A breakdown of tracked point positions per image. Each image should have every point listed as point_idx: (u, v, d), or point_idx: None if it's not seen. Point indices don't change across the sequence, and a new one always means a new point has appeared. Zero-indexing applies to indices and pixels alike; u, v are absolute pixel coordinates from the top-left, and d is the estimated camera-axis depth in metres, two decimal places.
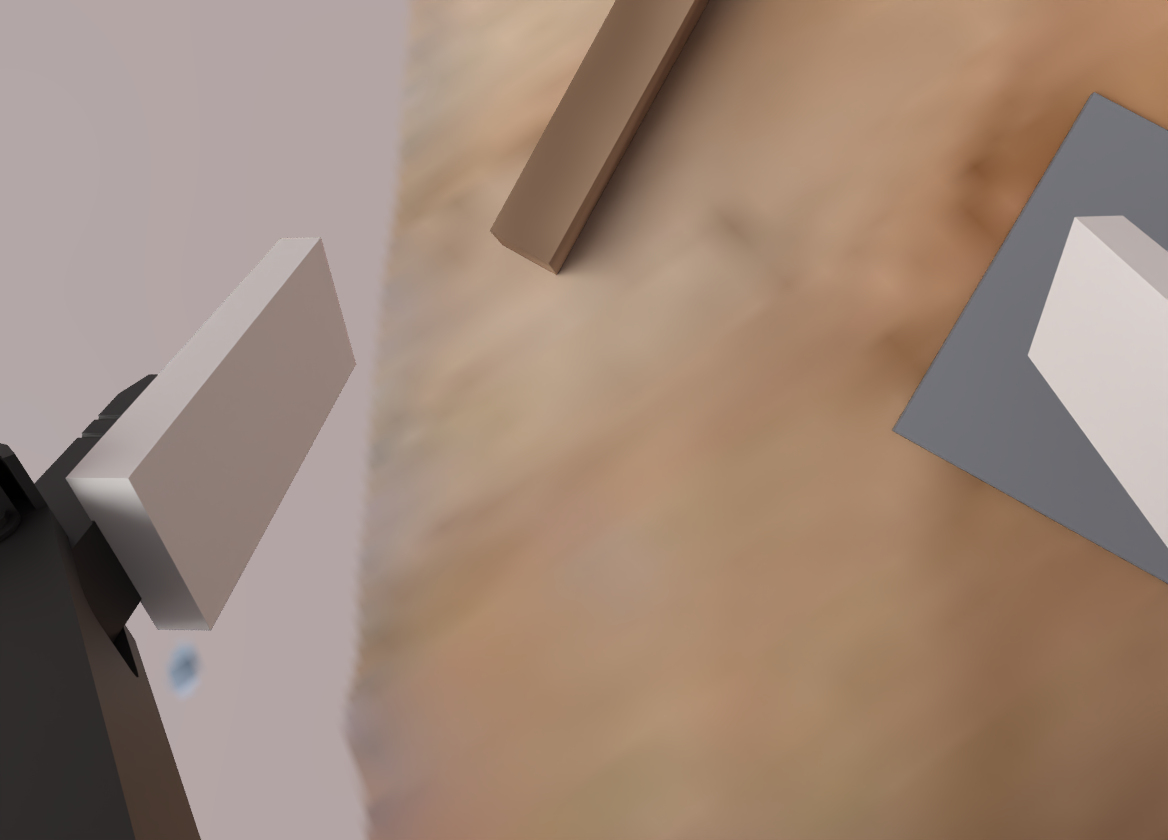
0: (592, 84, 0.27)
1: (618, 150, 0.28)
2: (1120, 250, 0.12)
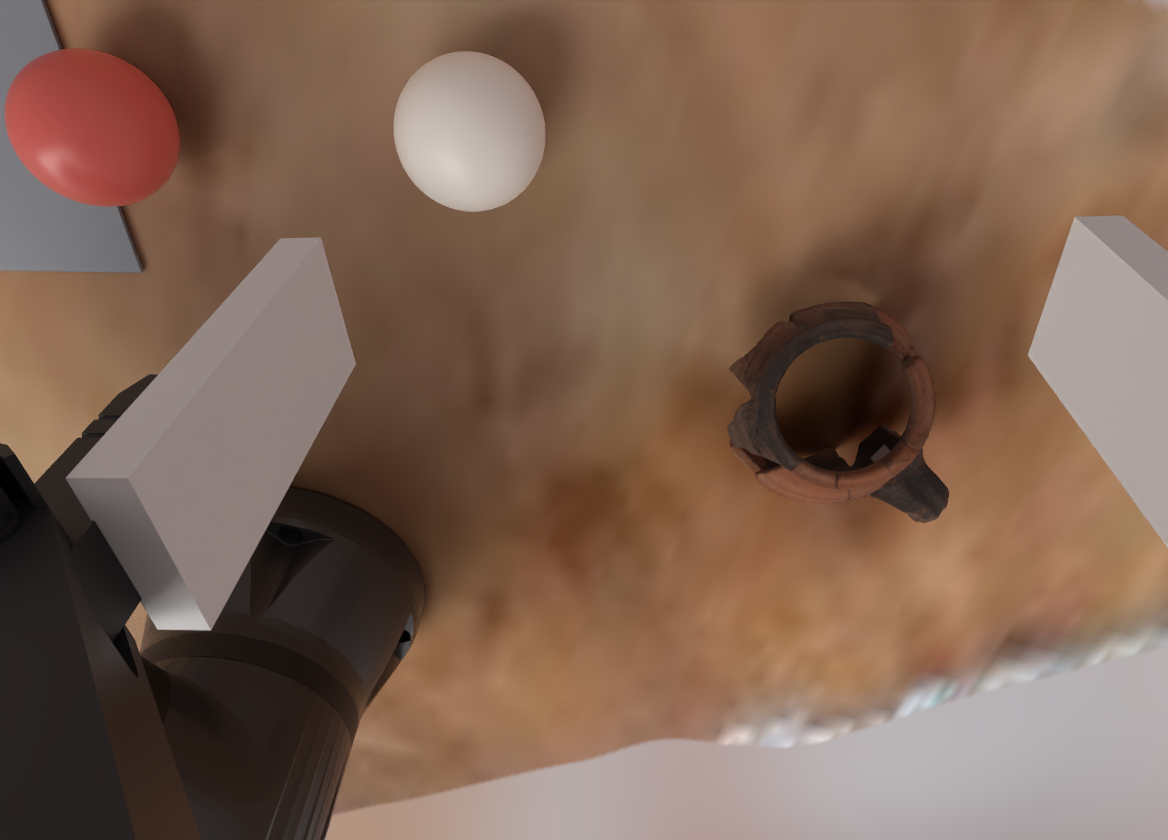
0: None
1: None
2: (1119, 250, 0.12)
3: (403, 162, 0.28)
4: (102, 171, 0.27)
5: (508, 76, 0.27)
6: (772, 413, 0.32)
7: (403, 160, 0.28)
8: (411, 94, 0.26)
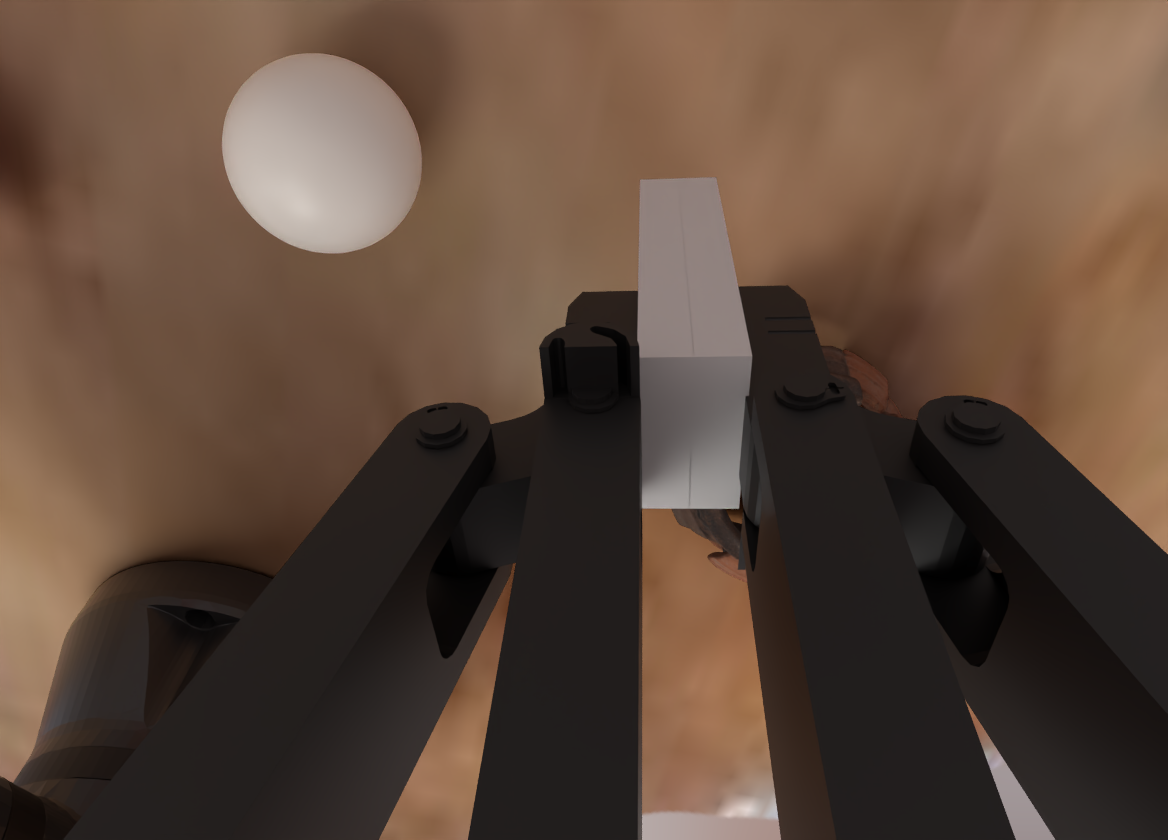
0: None
1: None
2: (684, 203, 0.14)
3: None
4: None
5: (355, 82, 0.21)
6: None
7: (236, 195, 0.22)
8: (232, 112, 0.21)
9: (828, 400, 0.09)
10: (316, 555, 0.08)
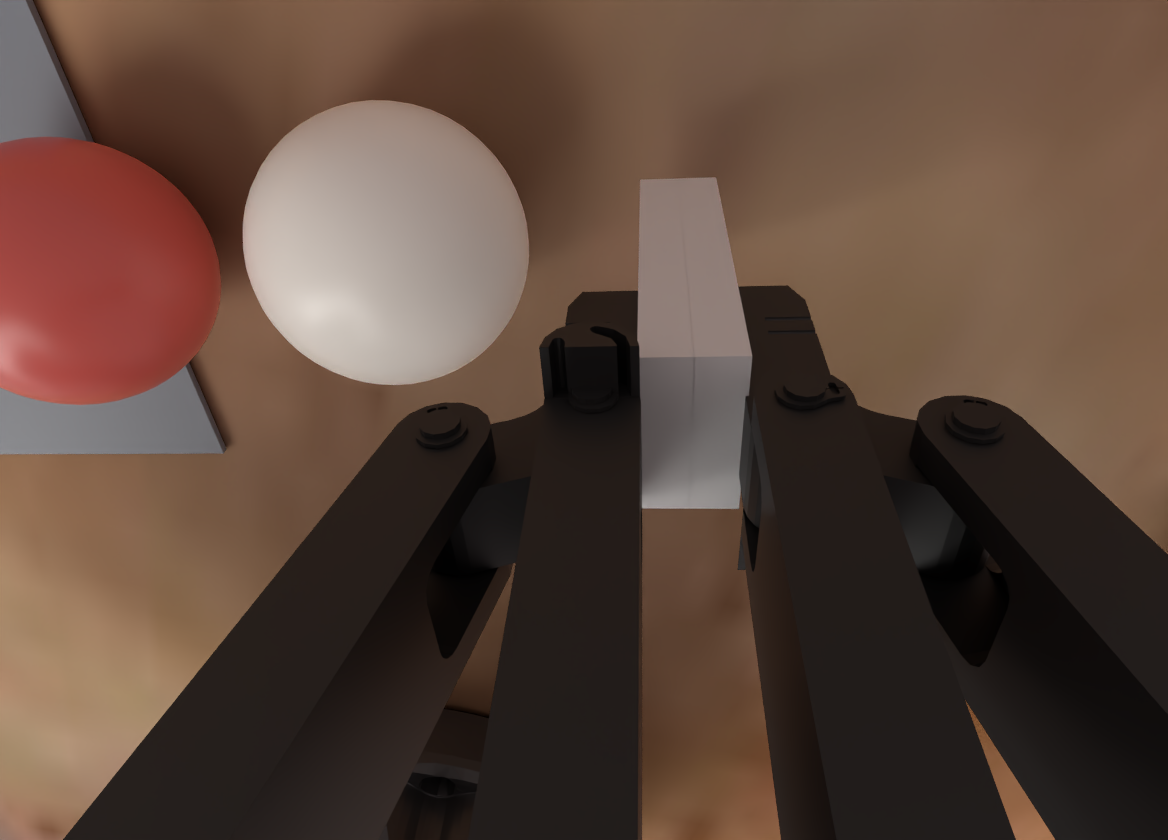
0: None
1: None
2: (685, 203, 0.14)
3: None
4: (4, 374, 0.15)
5: None
6: None
7: None
8: None
9: (828, 400, 0.09)
10: (316, 555, 0.08)
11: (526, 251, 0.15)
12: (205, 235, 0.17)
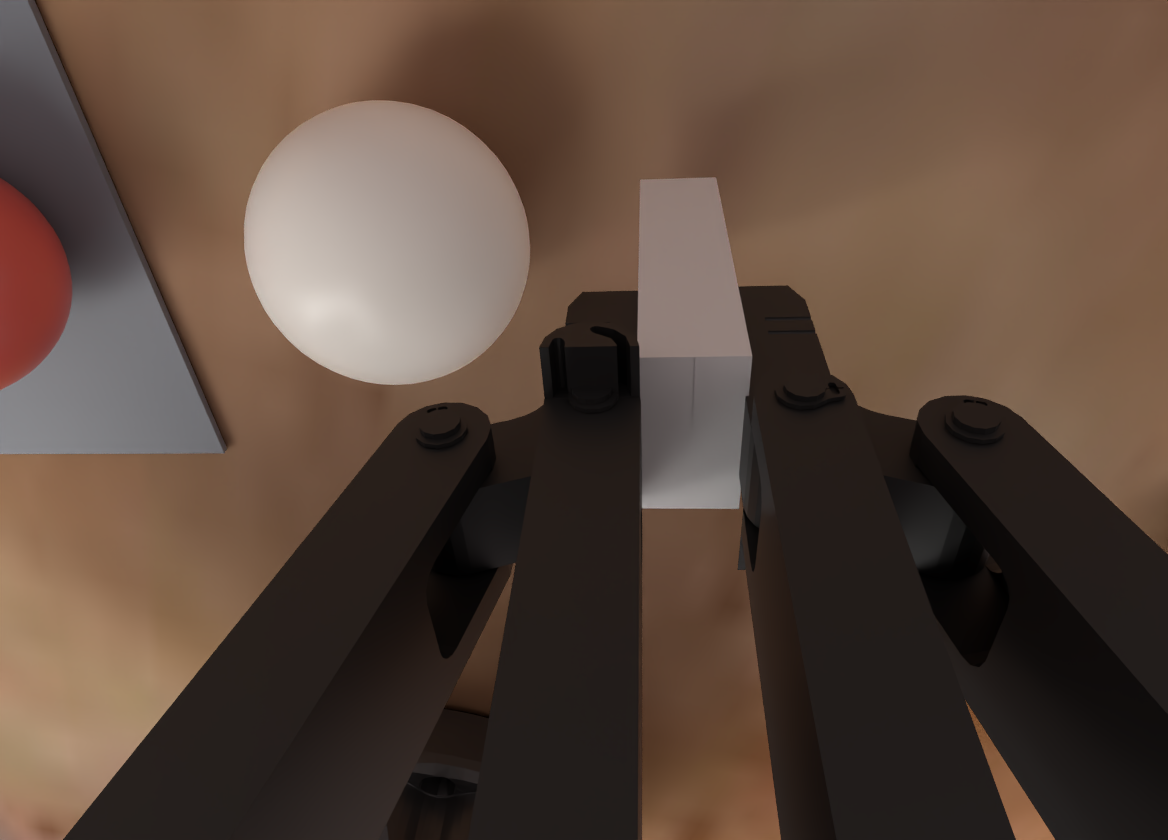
0: None
1: None
2: (685, 204, 0.14)
3: None
4: None
5: None
6: None
7: None
8: None
9: (828, 400, 0.09)
10: (316, 555, 0.08)
11: (527, 251, 0.15)
12: None
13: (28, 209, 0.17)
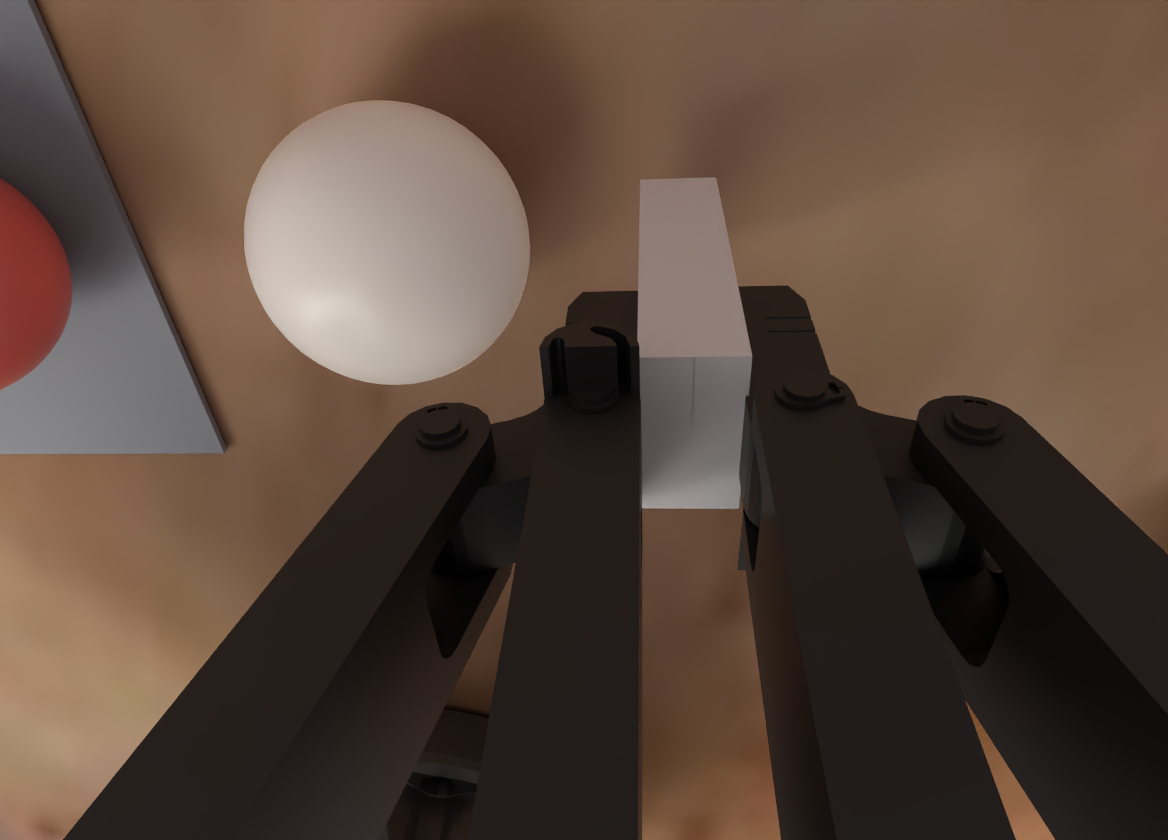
0: None
1: None
2: (685, 204, 0.14)
3: None
4: None
5: None
6: None
7: None
8: None
9: (828, 400, 0.09)
10: (316, 555, 0.08)
11: (527, 251, 0.15)
12: None
13: (28, 209, 0.17)
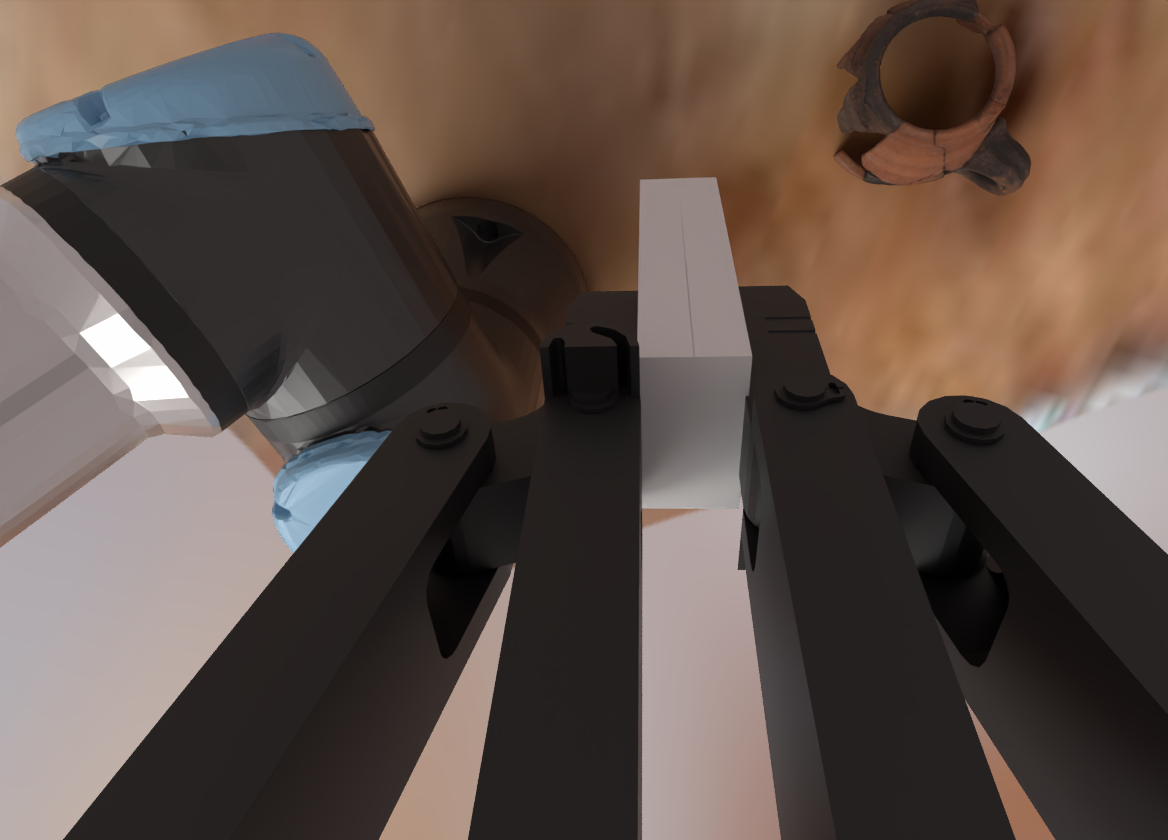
0: None
1: None
2: (685, 203, 0.14)
3: None
4: None
5: None
6: (878, 81, 0.38)
7: None
8: None
9: (828, 400, 0.09)
10: (316, 555, 0.08)
11: None
12: None
13: None
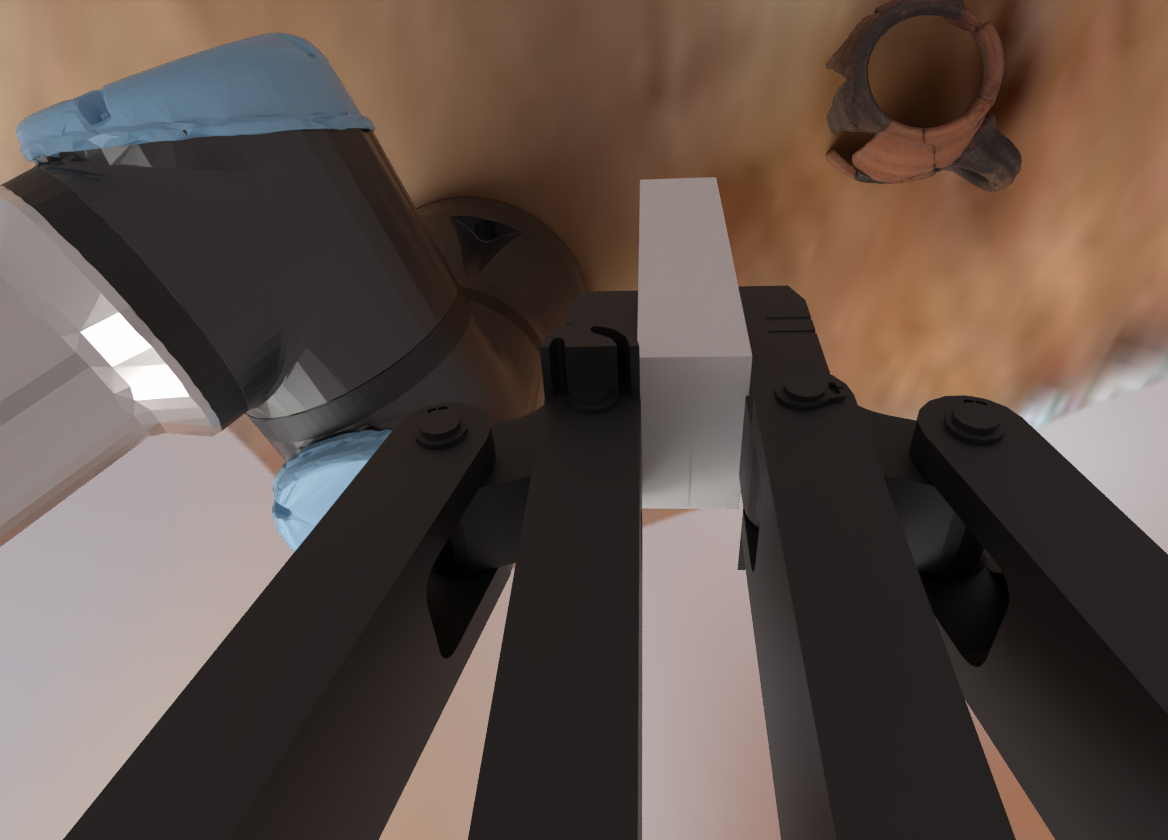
0: None
1: None
2: (685, 204, 0.14)
3: None
4: None
5: None
6: (866, 80, 0.39)
7: None
8: None
9: (827, 400, 0.09)
10: (316, 555, 0.08)
11: None
12: None
13: None
